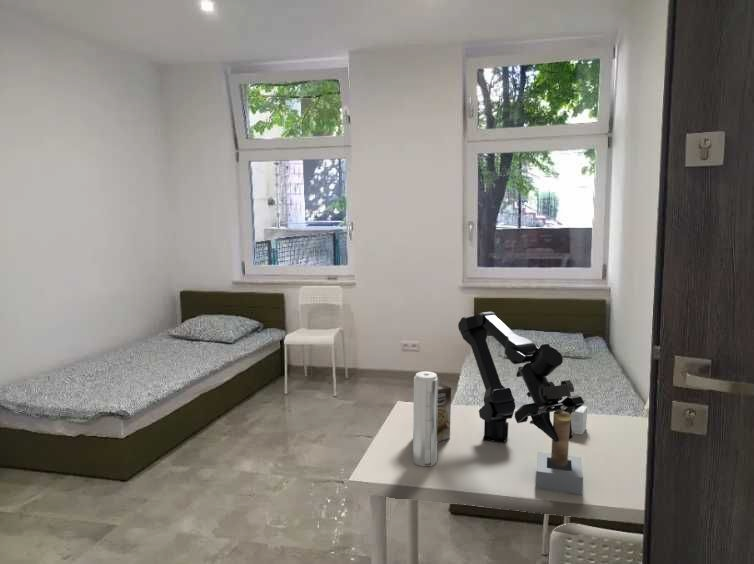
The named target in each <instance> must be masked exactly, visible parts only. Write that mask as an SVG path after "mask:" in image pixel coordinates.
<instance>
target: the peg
mask: <svg viewBox="0 0 754 564" xmlns="http://www.w3.org/2000/svg"><path fill="white" fill-rule="evenodd" d="M570 419H571V414H570V413H568V412H565V411H553V421H552V422H553V423H552V425H553V427H554V429H555V432H556V434H557V436H558V439H559V441H558V442H555V441H553V440H552V439H551V452H550V453H551V462H552V463H553V464H554V465H557V466H566V465H567V462H568V456H569V444H570V439H569V432H570Z"/></svg>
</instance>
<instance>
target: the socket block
mask: <svg viewBox="0 0 754 564" xmlns="http://www.w3.org/2000/svg"><path fill="white" fill-rule="evenodd" d="M582 461H583V460H582V457H581V456H575V455H574V456H573V455H572V456H571V455H568V462H567V465H566V466H557V465H554V464H553V463H552V462H551V452H542V451H537V454H536V468H535V469H536V470H535V471H536V472H535V489H539V488H540V489H539V490H547V491H553V492H561V493H566V494H574V495H581V496H583V486H584V475H583V474H584V472H583V465H582V464H583V463H582Z"/></svg>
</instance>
